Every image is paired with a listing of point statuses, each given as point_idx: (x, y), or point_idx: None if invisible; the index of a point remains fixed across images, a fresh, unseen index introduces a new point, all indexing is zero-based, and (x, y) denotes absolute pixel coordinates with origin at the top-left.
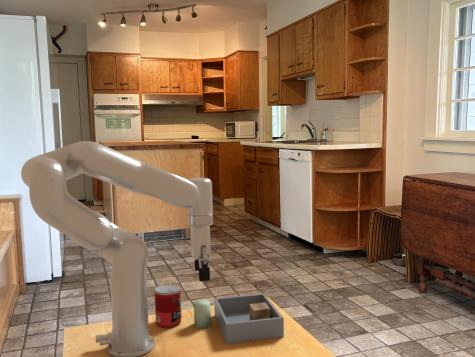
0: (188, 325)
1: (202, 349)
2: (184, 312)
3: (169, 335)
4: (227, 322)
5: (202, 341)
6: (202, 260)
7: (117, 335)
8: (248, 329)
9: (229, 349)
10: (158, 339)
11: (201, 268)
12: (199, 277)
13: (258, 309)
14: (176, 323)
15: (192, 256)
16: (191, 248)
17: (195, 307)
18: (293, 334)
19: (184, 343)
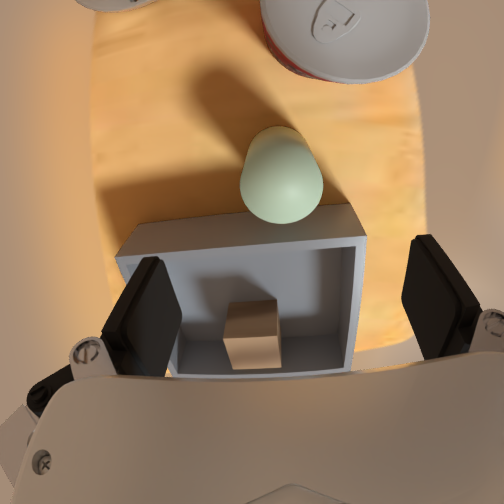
0: (281, 103)
1: (106, 159)
2: (403, 99)
3: (202, 40)
4: (129, 261)
5: (151, 155)
6: (428, 347)
7: None
8: None
9: (112, 229)
10: (175, 10)
11: (115, 344)
12: (134, 274)
13: (229, 348)
14: (276, 59)
15: (240, 385)
16: (370, 496)
17: (257, 150)
18: None
19: (140, 99)
